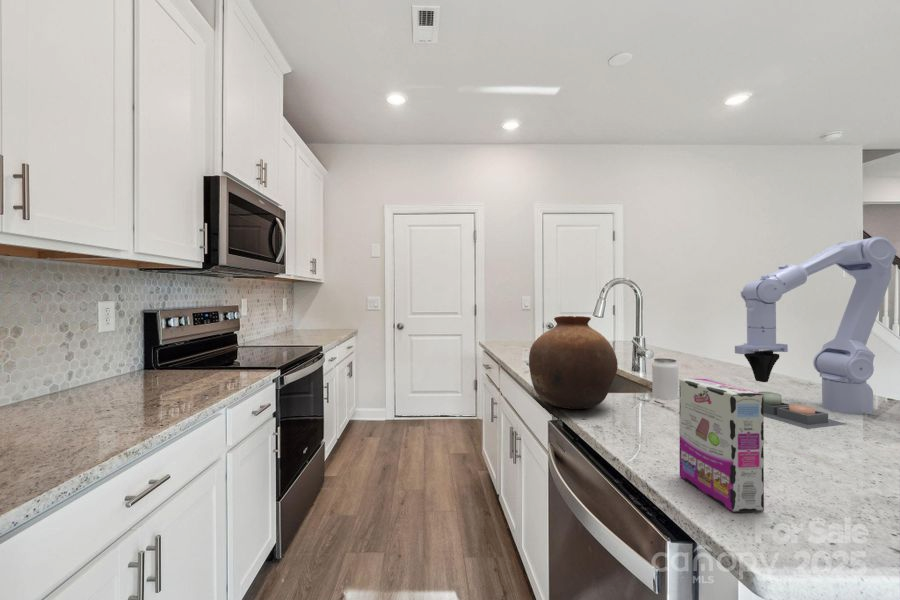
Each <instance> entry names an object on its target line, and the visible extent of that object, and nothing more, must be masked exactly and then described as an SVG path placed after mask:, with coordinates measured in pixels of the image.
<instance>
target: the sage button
mask: <svg viewBox="0 0 900 600" xmlns="http://www.w3.org/2000/svg"><path fill="white" fill-rule="evenodd" d="M757 393H761V394H764V397H763V403H764V404H766V405H771V406H781V405H782V403H783V402H782V394H781V393H778V392H771V391H758V392H757Z"/></svg>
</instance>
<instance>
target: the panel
mask: <svg viewBox="0 0 900 600" xmlns="http://www.w3.org/2000/svg"><path fill="white" fill-rule="evenodd" d="M789 405H790V403H786V402H782V405H781V406H771V405H766V404H763V410H764V418H768V419H771V420H775V421H778V422H782V423H786V424H788V425H792V426H795V427H798V428H803V429H806V430H810V429H811V430H812V429H818V428H826V427H836V426H845V425H847V423H845V422H841V421H837V420H834V419H829V413H827V412H823V411H819V410H816V409H815V414H810V415H805V414H801V413H797V412H793V411H789Z"/></svg>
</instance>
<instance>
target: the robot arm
mask: <svg viewBox="0 0 900 600" xmlns="http://www.w3.org/2000/svg"><path fill="white" fill-rule="evenodd" d="M897 251H898V250H897V249H896V248H895V246H894V244H892V242H891V241H890V240H889V239H887V237H884V236H872V237H870V238H869V237H868V238H864V239H857V240H849V241H841V242H837V243H836V244H834V245H831V246H828V247H827V248H826V249H824V250H823V251H820V252H819V253H817V254H816V255H813V256H812V257H810V258H809V259H807V260H805V261H803V262H801V263H799V264H797V265H796V264H792V263H791V264H781V265H779V266H778V267H777V268H778V269H777V270H775V271H773V272H771V273H769V274H762V275H761V276H760V279H759V280H752V281H748V282H747V283H746V284H745V285H744V286H743V288H742V291H740V296H741V298H742V299H743V301H744V302H745V308H746V343H745V342H744V343H743V344H740V345H734V353H735V354H736V355H737V354H738V355H743V356H744V357H745V359H746V360H747V361H748V364H749V365H750V367H751V370H752V372H753V376H754V379H755V382H759V383H768V382H769V379H770V376H771V374H772V370H773V368H774V366H775V365H776V363H777V361H779V359H780V353H782V352H783V353H788V351H789V350H788V347H789V346H788V345H789V344H785V343H777V302H779V301H780V300H781V299H782V297H783V295H784V294H786V293H788V292H790V291H792V290H794V289H796V288H798V287H800V286H802V285H804V284H806V283H807V281H808V277H809V276H811V275H813V274H816V273H818V272H820V271H823V270H825V269H827V268H829V267H831V266H834V265H836V266H838V267H839V268H840V269H842V271H844V272H845V273H847V274H848V275H850V277H853V278H854V279H855V283H854V286H853V289H852V291H851V294H850V297H849V298H848V302H847V305H846V308H845V310H844V313H843V316H842V318H841V320H840V323H839V326H838V329H837V331H836V334H835V336H834V338H833V339H832V340H830V341H828V342H825V343H824V344H823V345H822V348H821V349H820V350H819V352H818V353H817V354H815V356H814V358H813V362H812V365H813V368H814V369H815V370H816V372H818V373H819V377H820V378H821V408H822V409H824V410H827V411H831V412H835V413H841V414H848V415H863V414H868V415H874V392H873V388H872V387H871V385H870V384H869V383H867V381H868V380H869V379H871V377H872V376H873V374H874V370H875V369H874V368H875V366H874V359H875V356H876V355H875V353H874V352H873V351H872V350H871V349H869V347H867V346H866V345H867V344H868V340H869V339H870V335H871V332H872V330H873V328H874V324H875V323H876V322H875V321H876V320H877V316H878V313H879V311H880V309H881V305H882V303H883V301H884V299H885V295H886V293H887V291H888V288H889V286H890V285H889V284H890V282H891V279H892V266H893V265H892V264H893V262H894V259H895V258H896V254H897ZM779 352H780V353H779Z"/></svg>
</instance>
